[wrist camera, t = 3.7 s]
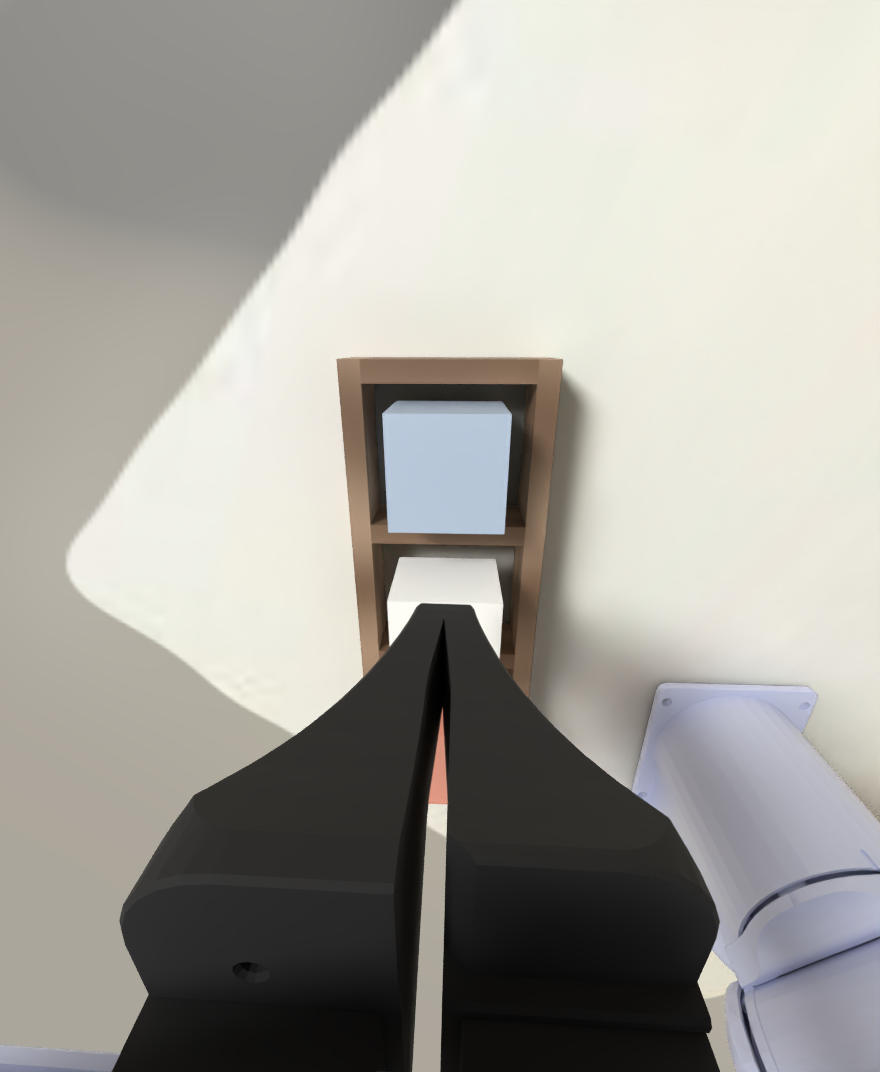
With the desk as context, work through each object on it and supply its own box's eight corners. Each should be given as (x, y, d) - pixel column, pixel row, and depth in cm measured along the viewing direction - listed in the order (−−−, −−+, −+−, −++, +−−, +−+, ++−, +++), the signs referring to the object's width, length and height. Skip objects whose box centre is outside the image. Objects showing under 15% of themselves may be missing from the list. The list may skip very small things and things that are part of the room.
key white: (491, 638, 20) (497, 694, 17) (402, 636, 20) (392, 691, 17) (495, 558, 18) (502, 603, 15) (399, 557, 19) (387, 601, 15)
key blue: (496, 501, 18) (504, 534, 15) (400, 500, 19) (388, 532, 15) (501, 401, 17) (512, 414, 14) (396, 400, 17) (382, 413, 14)
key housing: (515, 727, 25) (521, 765, 23) (378, 723, 25) (370, 760, 23) (549, 357, 17) (563, 359, 15) (352, 357, 18) (336, 359, 15)
